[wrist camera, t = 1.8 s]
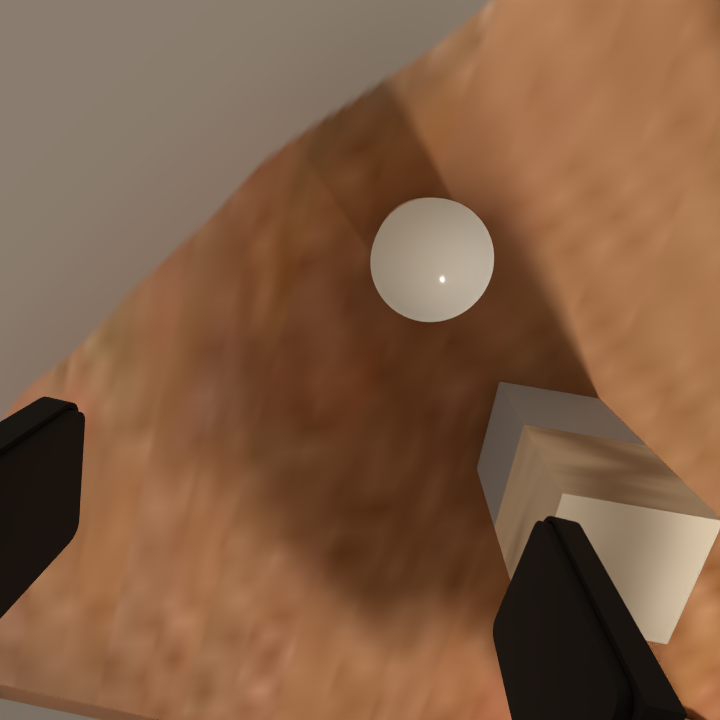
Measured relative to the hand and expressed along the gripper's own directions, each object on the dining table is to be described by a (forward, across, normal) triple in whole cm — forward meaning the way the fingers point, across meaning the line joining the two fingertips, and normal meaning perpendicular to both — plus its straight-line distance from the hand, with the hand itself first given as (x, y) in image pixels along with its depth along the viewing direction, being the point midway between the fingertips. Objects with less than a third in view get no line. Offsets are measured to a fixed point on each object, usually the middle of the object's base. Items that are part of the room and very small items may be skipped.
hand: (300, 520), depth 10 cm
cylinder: (+20, -3, -4) cm, 21 cm away
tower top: (+14, -12, +5) cm, 19 cm away
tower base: (+20, -12, +5) cm, 24 cm away
